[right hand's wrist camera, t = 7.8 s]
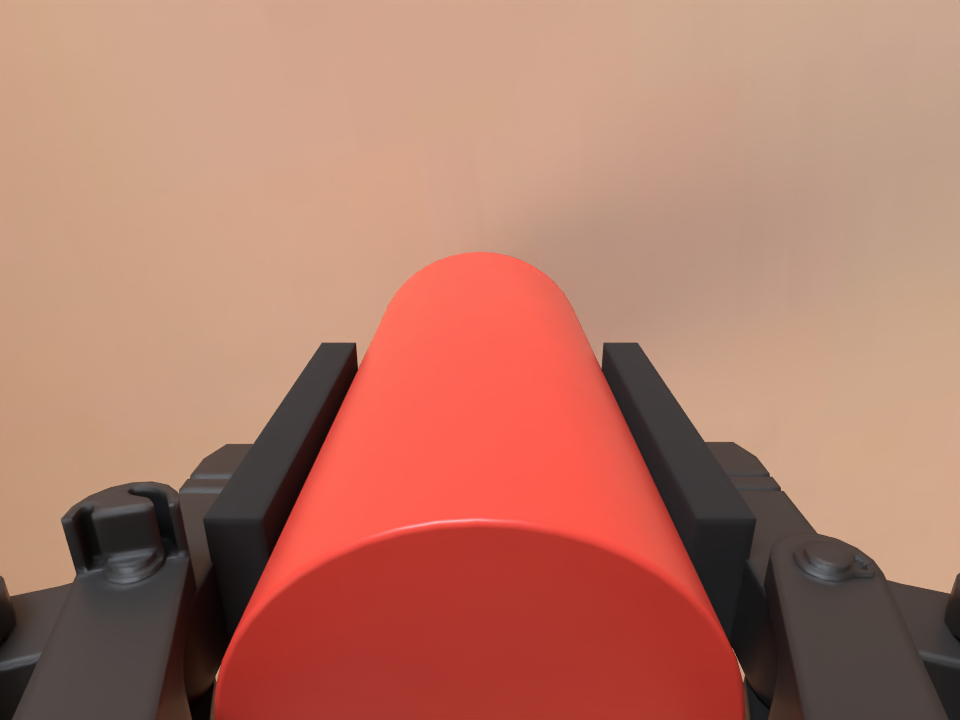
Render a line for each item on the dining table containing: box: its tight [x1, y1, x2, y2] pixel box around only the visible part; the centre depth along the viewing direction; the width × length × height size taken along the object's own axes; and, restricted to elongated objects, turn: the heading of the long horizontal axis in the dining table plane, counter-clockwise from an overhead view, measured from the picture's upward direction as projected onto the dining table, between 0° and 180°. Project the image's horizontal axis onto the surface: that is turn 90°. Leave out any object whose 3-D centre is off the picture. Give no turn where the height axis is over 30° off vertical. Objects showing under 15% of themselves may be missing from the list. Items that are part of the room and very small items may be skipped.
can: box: [214, 252, 745, 720], centre depth 12 cm, size 6×6×11 cm
